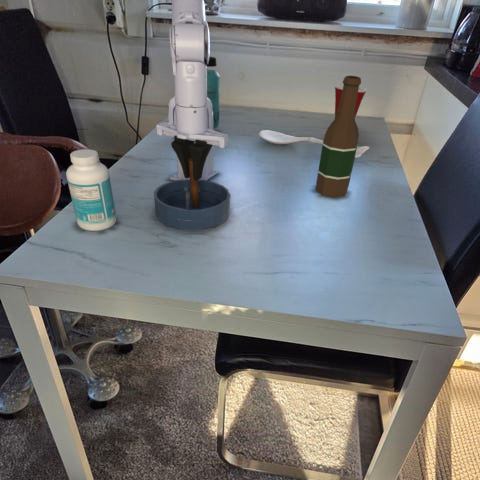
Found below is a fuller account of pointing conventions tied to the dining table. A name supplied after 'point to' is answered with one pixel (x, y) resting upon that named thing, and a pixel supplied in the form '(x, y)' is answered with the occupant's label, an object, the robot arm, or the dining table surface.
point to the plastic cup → (339, 91)
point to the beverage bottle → (213, 89)
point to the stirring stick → (193, 186)
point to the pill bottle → (91, 191)
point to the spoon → (297, 140)
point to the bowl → (180, 204)
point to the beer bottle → (340, 144)
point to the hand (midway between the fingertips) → (193, 177)
